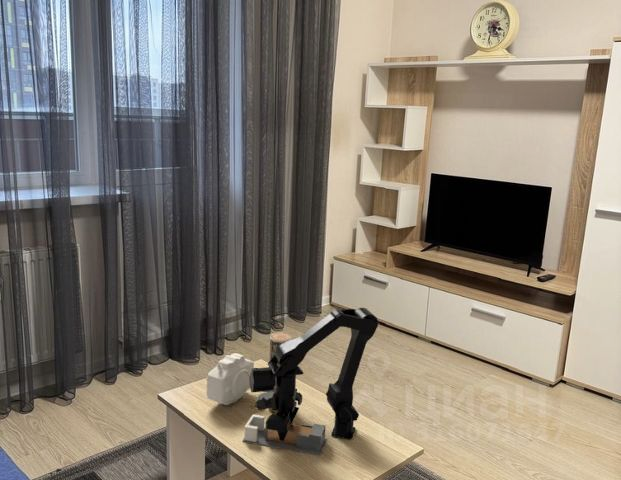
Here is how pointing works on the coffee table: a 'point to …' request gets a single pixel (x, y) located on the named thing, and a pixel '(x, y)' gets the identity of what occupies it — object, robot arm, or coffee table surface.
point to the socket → (253, 428)
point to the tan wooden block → (290, 436)
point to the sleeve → (312, 438)
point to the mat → (281, 444)
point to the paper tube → (276, 341)
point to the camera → (229, 379)
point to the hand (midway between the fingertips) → (283, 436)
